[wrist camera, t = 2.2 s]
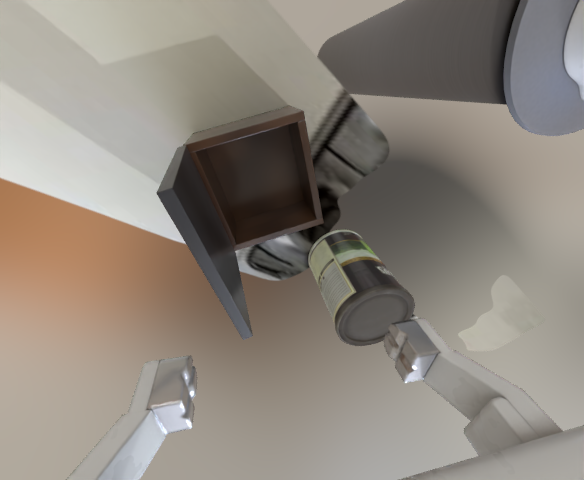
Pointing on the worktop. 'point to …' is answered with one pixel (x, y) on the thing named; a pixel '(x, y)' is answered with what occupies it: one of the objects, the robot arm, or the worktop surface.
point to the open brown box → (259, 175)
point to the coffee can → (357, 288)
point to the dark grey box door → (204, 235)
